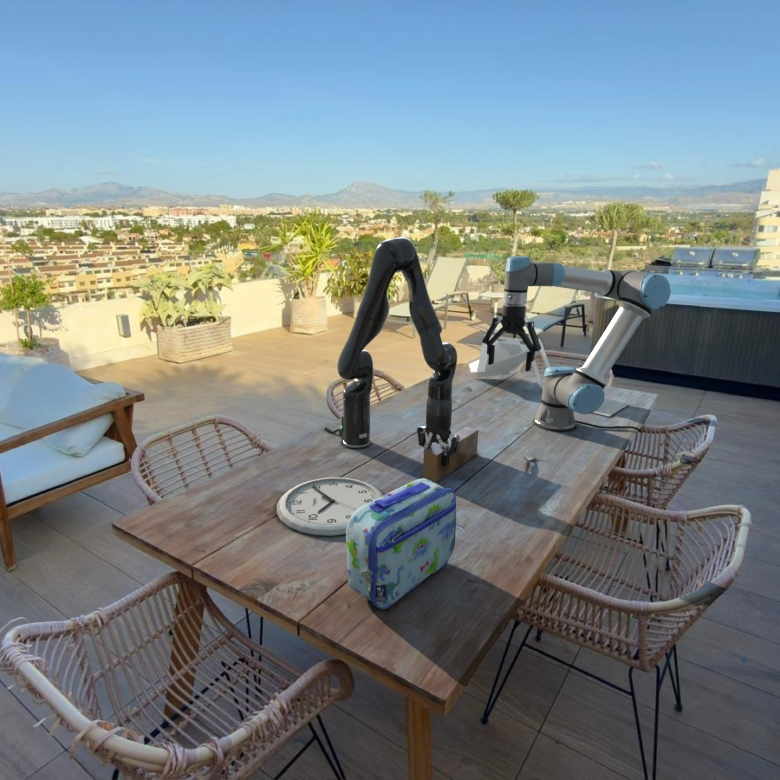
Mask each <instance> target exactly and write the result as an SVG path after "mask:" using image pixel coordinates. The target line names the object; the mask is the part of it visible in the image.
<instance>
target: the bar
mask: <svg viewBox="0 0 780 780" xmlns="http://www.w3.org/2000/svg"><path fill="white" fill-rule="evenodd" d="M452 434H453V435H455V436H457V435H459V436H460V439H459V443H458V447H457V451H456V453H454V454H453V455H450V462H449V464H448V465H447V466H445V467H444V466H442V463H443V455H444V454H443V451H442V449H441V448H440V444H437V443H436V444H435V443H434V445H431V447H430V448H429V449H427V450H425V451H424V450H423V461H422V462H423V463H422V478H425V479H428V480H430V481H432V482H434V483H437V482H439V481H440V480H442V479H443V478H445V477H446V476H448V475H449V474H450V473H452V472H454V471H455V470H456V469H458V468H460V466H461V467H462V465H464V464H465V463H467V462H468V461H470V459H472V458H474V457H476V456H477V455H478V443H479V429H477V428H473V427H469V426H464V427H463V428H461V429H460V430H458V431H456V432H455V433H452ZM448 440H449V443H450V445H449V446H451V442H450V437H449V439H448ZM444 444H445V443H444Z"/></svg>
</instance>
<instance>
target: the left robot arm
mask: <svg viewBox="0 0 780 780" xmlns="http://www.w3.org/2000/svg"><path fill="white" fill-rule="evenodd" d="M422 270H423V269H422V266H421V263H420V260H419V255H418V252H417V248H416V247H415V245H414V243H413V242H412V241H411V239H409V238H407V237H395V238H390V239H386V240H383V241H381V242H379V244H378V245H377V246H376V248H375V251H374V253H373V257H372V261H371V266H370V271H369V275H368V279H367V282H366V286H365V289H364V292H363V295H362V298H361V301H360V303H359V306H358V309H357V311H356V314H355V318H354V321H353V323H352V327H351V330H350V332H349V335H348V336H347V339H346V341H345V344H344V346H343V348H342V349H341V352H340V354H339V356H338V359H337V366H336V367H337V373H338V375H339V378H341V379H343V380H345V381H351V380H353V381H352V382H351V383H349V385H347V386H345V387H344V388H343V391H342V406H343V407H342V411H343V416H342V417H341V419H340V420H341V421H340V422H341V426H340V428H336V429H334V430H332V429H330V428H328V427H326V426H325V427H324V430H325V431H327V432H328V433H330V434H336V433H338V436H340V437H341V443H343V446H344V447H346V448H348V449H357V450H358V449H364V448H367V447H369V446H370V445H371V392H372V390H373V378H374V361H373V357H372V355H371V353H370V352H369V351H368V350H366V349H365V348H366V347H367V346H368V345H369V344H370V343H371V342H372V341H373V340H374V339H375V338H376V337H377V336H378V335H379V334H380V333H381V332H382V330H383V329H384V327H385V324H386V322H387V319H388V317H389V313H390V302H389V297H388V290H389V287H390V284H391V281H392V280H393V277H394V276H395V274H396V273H399V272H400V273H402V275H403V278H404V280H405V282H406V285H407V291H408V312H409V315H410V319H411V321H412V323H413V326H414V328H415V331H416V332H417V334H418V336H419V341H420V347H421V352H422V355H423V359H424V361H425V363H426V365H427V366H428V367H429V368H430V369H431V370H433V372H432V374H431V376H430V377H429V379H428V384H427V399H426V409H425V410H426V411H425V425H426V426H425V425H422V424H421V425H420V426H418V427H417V428H416V432H417V439H418V441H417V442H418V446H420V447H422V448H423V449H424V450H423V452H424V451H425V450H427V449H429V448H430V447H432V446H433V444H435V443H436V444H440V448H441V449H442V451H443V454H444V455H443V463H442V466H444V467H445V466H447V465H448V464H449V462H450V455H453V454H454V453H456V451H457V447H458V443H459V439H460V436H459V435H457V436H455V435H453V434H454V433H452V431H451V427H452V415H453V414H452V413H453V381H454V377H455V373H456V369H457V365H458V351H457V349H456V347H455V346H454V344H452V343H450V342H443V340H442V336H441V334H442V332H443V327H442V324H441V322H440V319H439V317H438V314H437V312H436V310H435V308H434V306H433V302H432V301H431V298H430V295H429V292H428V288H427V284H426V281H425V277H424V273H423V271H422ZM426 436H427V437H426ZM449 437H450V442H451V446H449V445H450V443H449V440H448V439H449ZM444 443H445V444H444Z"/></svg>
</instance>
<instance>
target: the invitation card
mask: <svg viewBox="0 0 780 780" xmlns="http://www.w3.org/2000/svg"><path fill="white" fill-rule="evenodd" d="M628 406H629V404H627V403H623V402H618V401H614V400H609V399H605V398H604V402H603V404H602V405H601V407H600V408H599V409H598V410H596V411H595V412H593V413H592V414H596V415H600V416H604V417H608V418H609V417H611V416H613V415H614V414H616V413H617V412H619V411H621V410H623V409H624V408H626V407H628Z"/></svg>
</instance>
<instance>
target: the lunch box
mask: <svg viewBox="0 0 780 780" xmlns="http://www.w3.org/2000/svg"><path fill="white" fill-rule="evenodd" d="M456 498H457V496H456V493H455V491H454V489H452V488H450V487H443V486H441V485H439V484H438V483H437V482H433V481H430V480H428V479H425V478H423V477H422V478H418V479H416V480H413V481H411V482H409V483H406V484H405V485H402V486H400V487H398V488H396V489H394V490H392V491H390V492H388V493H386V494H384V496H382V497H380V498H378V499H376V500H374V501H372V502H370V503H368V504H366V505H364V506H362V507H360V508H358V509H357V510H356V511H355V512H354V513H353V514H352V515H351V517H350V519H349V521H348V524H347V528H346V534H345V547H346V549H345V550H346V572H347V573H346V575H347V584H348V587H349V589H350V590H351V591H353V592H355V593H357V594H358V595H361V596H363V597H364V598H365V599H367V600H368V601H369V602H371V604H372V605H373V606H374V607H376V608H377V609H380V610H386V609H389V608H391V607H393V605H395V603H397V602H398V601H399V600H400V599H402V598H403V597H404V596H405V595H408V593H410V592H411V591H412V590H413V589H415V588H416V587H417V586H419V585H420V584H421V583H423V581H424V580H425V579H427V578H428V577H430V576H431V575H433V574H435V573H437V572H438V571H439V570H441V569H442V568H443V567H444V566H446V564H447V563H448V562H449V560H450V559H451V556H452V555H453V552H454V548H455V544H456V531H457V530H456V529H457V499H456Z"/></svg>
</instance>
